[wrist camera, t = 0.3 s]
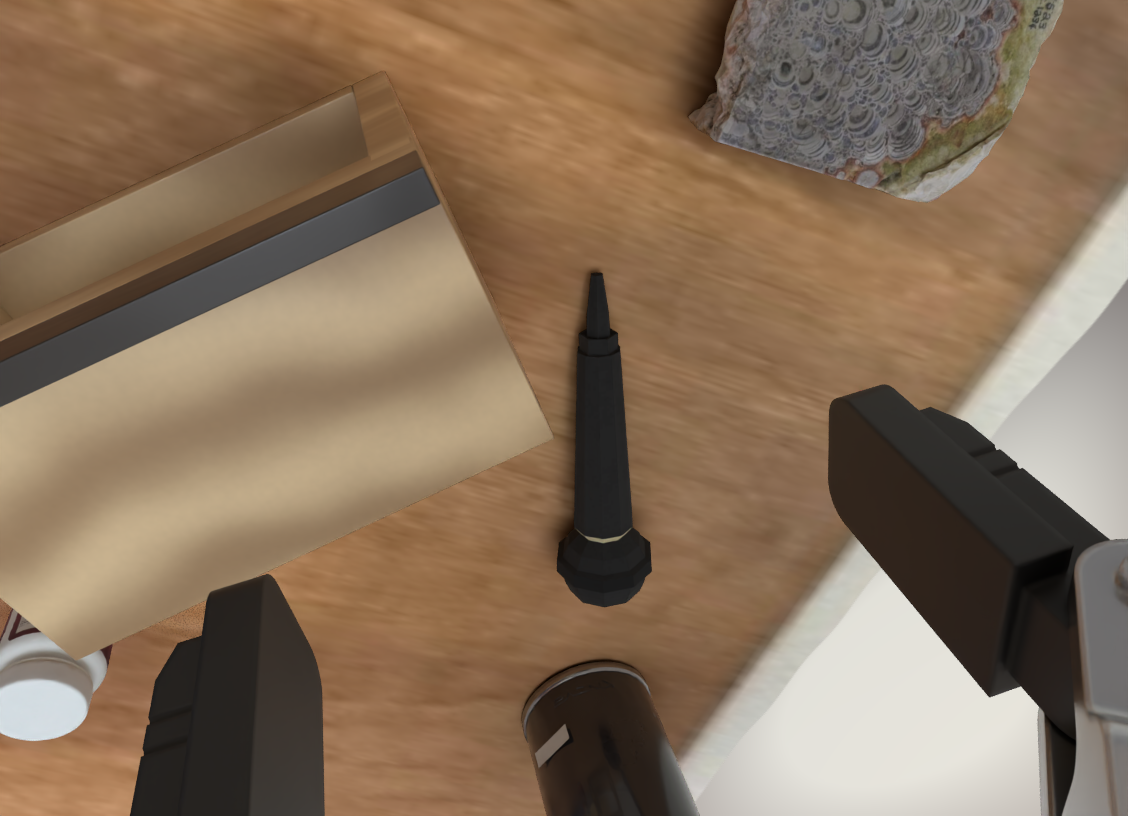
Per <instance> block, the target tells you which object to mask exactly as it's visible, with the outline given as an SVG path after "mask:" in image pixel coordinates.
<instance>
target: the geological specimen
mask: <svg viewBox="0 0 1128 816" xmlns="http://www.w3.org/2000/svg"><path fill="white" fill-rule="evenodd" d="M1063 1H1064V0H737V1H736V3H735V6H734V8H733V11H732V14H731V16H730V19H729V22H728V25H727V29H726V34H725V46H724V53H723V58H722V62H721V66H720V68H719V70H718V72H717V74H716V76H715V80H716V82H717V92H715V93H713V94H711V95H709V97H708V99H707V101H706V104H705V105H703V106H702V107H701V108H700V109H698V110H695V111H694V112H693V113H691V114H690V115H689V117H688V118H689V119H690V121H691V122H692V123H693V124H694V126H696V128H697V129H698V130H700V131H702V132H704V133H706V134H707V135H709V136H710V137H711V138H712V139H713V140H714V141H716V142H719V143H723V144H727V145H730V146H733V147H736V148H740V149H743V150H746V151H750V152H753V153H756V154H759V155H763V156H766V157H769V158H773V159H776V160H779V161H783V162H786V163H789V164H793V165H796V166H799V167H803V168H806V169H809V170H813V171H816V172H819V173H822V174H826V175H829V176H832V177H835V178H838V179H841V180H843V179H844V180H847V181H850V182H853V183H856V184H858V185H861V186H864V187H867V188H870V189H872V188H874V189H877V190H880V191H883V192H885V193H888V194H890V195H893V196H895V197H899V198H903V199H908V200H913V201H917V202H920V201H922V202H926V203H927V202H930V201H933V200H935V199H938V198H939V197H940V195H941V194H943V193H945V192H947V191H948V190H950V189H951V188H953V187H954V186H955V185H957V184H958V183H960V182H961V181H963V180H964V179H966V178H967V177H968V176H969V175H970V174H972V173H973V171H974V170H975V168H976V167H977V165H978V164H979V163H980V162H981V161H982V159H983V158H985V157H986V156H987V155H988V153H989V151H990V150H991V148H992V147H993V145H994V144H995V142H996V141H997V140H998V138H999V137H1000V136H1001V134H1002V133H1003V131H1004V130H1005V128H1006V127H1007V126H1008V124H1009V123H1010V121H1011V119H1012V115H1013V113H1014V111H1015V109H1016V107H1017V105H1018V102H1019V100H1020V98H1021V97H1022V96H1023V94H1024V89H1025V86H1026V84H1027V82H1028V79H1029V70H1030V69H1031V68H1032V66H1033V65H1034V64H1035V61H1036V57H1037V55H1038V53H1039V50H1040V46H1041V44H1042V43H1043V42H1044V41H1045V40H1046V39H1047V38H1048V37H1049V36H1050V34H1051V32H1052V30H1053V29H1054V27H1055V24H1056V21H1057V19H1058V17H1059V16H1060V14H1061V12H1062V8H1063Z"/></svg>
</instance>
